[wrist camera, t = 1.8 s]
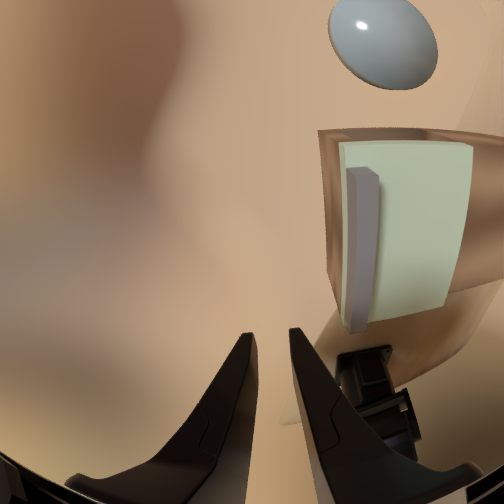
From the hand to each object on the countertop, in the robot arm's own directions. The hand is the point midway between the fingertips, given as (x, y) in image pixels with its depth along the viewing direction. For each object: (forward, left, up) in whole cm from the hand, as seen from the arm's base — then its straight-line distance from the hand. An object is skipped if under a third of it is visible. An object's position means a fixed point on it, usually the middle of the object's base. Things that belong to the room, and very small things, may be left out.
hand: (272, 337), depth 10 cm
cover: (0, -8, -6) cm, 10 cm away
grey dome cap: (+12, -10, -11) cm, 19 cm away
